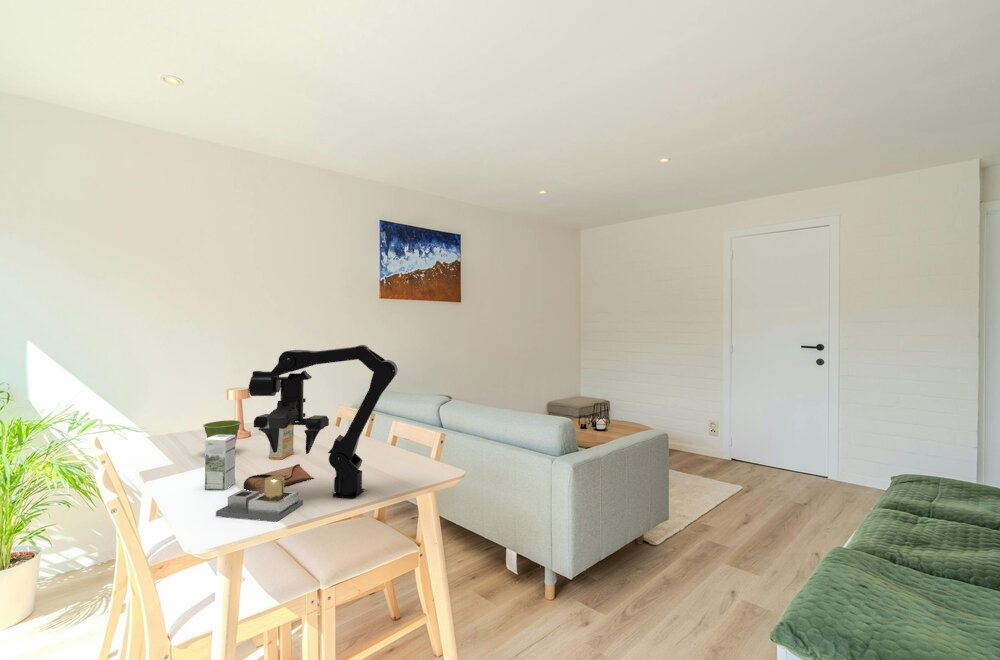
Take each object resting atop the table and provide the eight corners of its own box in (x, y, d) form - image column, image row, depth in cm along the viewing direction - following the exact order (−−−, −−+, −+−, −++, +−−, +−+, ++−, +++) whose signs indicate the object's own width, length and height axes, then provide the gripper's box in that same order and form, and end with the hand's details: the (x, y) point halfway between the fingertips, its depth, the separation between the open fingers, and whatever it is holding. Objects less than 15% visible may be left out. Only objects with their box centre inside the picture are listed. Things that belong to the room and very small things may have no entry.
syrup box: (235, 483, 137) (236, 433, 137) (224, 490, 131) (225, 438, 131) (215, 483, 136) (216, 433, 136) (203, 490, 130) (204, 438, 130)
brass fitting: (287, 503, 119) (287, 476, 119) (276, 510, 114) (277, 481, 114) (271, 502, 119) (272, 475, 119) (260, 509, 115) (260, 480, 115)
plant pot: (225, 449, 173) (226, 418, 173) (248, 453, 169) (249, 421, 169) (194, 457, 162) (194, 424, 162) (217, 461, 158) (218, 428, 158)
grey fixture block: (302, 504, 122) (303, 490, 122) (276, 521, 111) (276, 506, 111) (246, 499, 124) (247, 486, 124) (215, 516, 113) (216, 501, 113)
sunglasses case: (260, 495, 127) (253, 472, 129) (247, 504, 130) (240, 481, 132) (316, 478, 143) (309, 457, 145) (303, 486, 146) (297, 465, 148)
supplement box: (282, 459, 161) (283, 421, 161) (268, 459, 161) (269, 421, 161) (294, 453, 170) (294, 417, 169) (281, 453, 170) (281, 417, 170)
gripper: (240, 399, 121) (240, 459, 121) (310, 401, 119) (309, 462, 119) (266, 393, 132) (265, 448, 132) (330, 395, 130) (329, 451, 130)
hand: (291, 453), depth 128 cm, fingers open, 9 cm apart
